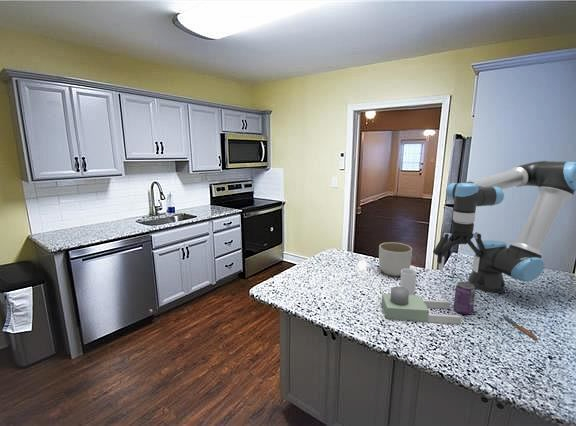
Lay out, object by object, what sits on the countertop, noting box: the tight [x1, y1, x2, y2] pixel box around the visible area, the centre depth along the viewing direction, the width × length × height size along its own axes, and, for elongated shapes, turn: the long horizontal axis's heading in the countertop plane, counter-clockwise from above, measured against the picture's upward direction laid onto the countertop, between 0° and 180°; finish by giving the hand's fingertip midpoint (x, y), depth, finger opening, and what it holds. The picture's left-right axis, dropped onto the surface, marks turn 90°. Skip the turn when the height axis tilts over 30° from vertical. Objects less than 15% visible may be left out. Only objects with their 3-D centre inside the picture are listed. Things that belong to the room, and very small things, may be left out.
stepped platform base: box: [381, 285, 462, 325], centre depth 120 cm, size 28×12×10 cm, turn 81°
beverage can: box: [453, 281, 476, 315], centre depth 120 cm, size 7×7×12 cm
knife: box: [502, 314, 539, 342], centre depth 110 cm, size 17×1×3 cm
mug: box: [399, 268, 418, 295], centre depth 136 cm, size 10×7×12 cm, turn 172°
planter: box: [378, 241, 413, 277], centre depth 159 cm, size 17×17×15 cm
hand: (457, 270), depth 120 cm, fingers open, 13 cm apart
